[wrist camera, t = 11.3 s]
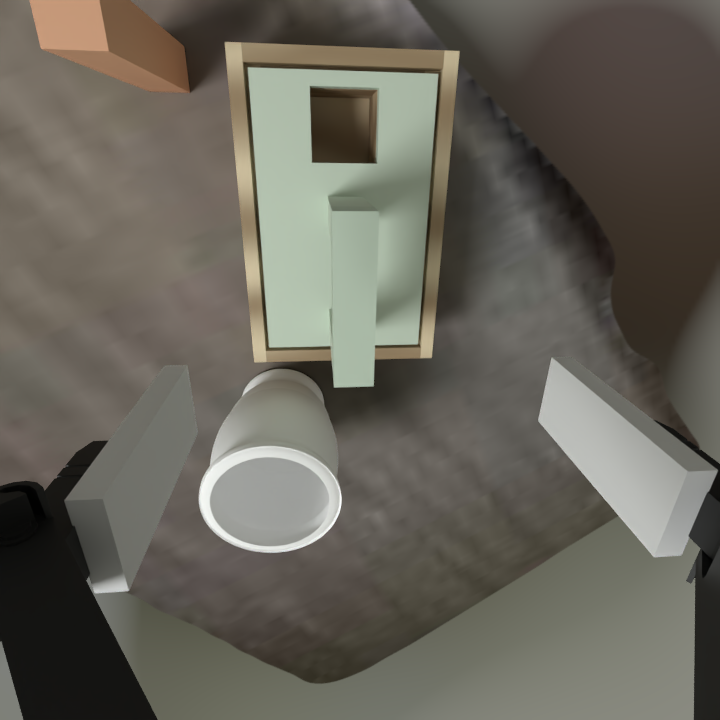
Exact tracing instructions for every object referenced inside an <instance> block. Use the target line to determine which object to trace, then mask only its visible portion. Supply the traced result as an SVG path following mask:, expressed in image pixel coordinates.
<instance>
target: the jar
mask: <svg viewBox="0 0 720 720" xmlns="http://www.w3.org/2000/svg"><path fill="white" fill-rule="evenodd" d="M337 471H338V447H337V441H336V436H335V432H334V429H333V426H332V424H331V421H330V418H329V415H328V413H327V410H326V408H325V406H324V398H323V395H322V392H321V390H320V388H319V387H318V385H317V384H316V383H315V382H314V381H313V380H312V379H311V378H309V377H308V376H306V375H305V374H303V373H300V372H298V371H295V370H290V369H273V370H269V371H266V372H263V373H261V374H259V375H258V376H256V377H255V378H253V379H252V380H251V381H250V382H249V383H248V385H247V386H246V388H245V390H244V392H243V395H242V397H241V398H240V399H239V401H238V402H237V403H236V405H235V406H234V408H233V409H232V411H231V412H230V413H229V415H228V416H227V418H226V419H225V421H224V422H223V424H222V426H221V428H220V430H219V432H218V434H217V437H216V440H215V443H214V446H213V450H212V455H211V462H210V467H209V468H208V469H207V471H206V473H205V475H204V477H203V479H202V482H201V485H200V491H199V507H200V511H201V514H202V516H203V518H204V520H205V522H206V523H207V525H208V526H209V527H210V528H211V529H212V530H213V531H214V532H215V533H216V534H217V535H218V536H219V537H221V538H222V539H224V540H225V541H227V542H229V543H231V544H233V545H235V546H237V547H240V548H243V549H246V550H250V551H256V552H265V553H277V552H286V551H291V550H295V549H298V548H301V547H304V546H306V545H309V544H311V543H313V542H314V541H316V540H318V539H319V538H320V537H322V536H323V535H324V534H325V533H326V532H327V531H328V530H329V529H330V528H331V527H332V526H333V524H334V523H335V521H336V519H337V517H338V515H339V512H340V509H341V491H340V485H339V482H338V479H337Z"/></svg>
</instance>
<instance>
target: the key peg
mask: <svg viewBox="0 0 720 720" xmlns="http://www.w3.org/2000/svg"><path fill="white" fill-rule="evenodd" d="M30 4H31V8H32V12H33V17H34V21H35V25H36V29H37V33H38V38H39V42H40V46H41V49H43V50H45V51H48V52H50V53H53V54H56V55H58V56H61V57H63V58H66V59H68V60H71V61H73V62H76V63H78V64H81V65H83V66H86V67H89V68H91V69H94V70H96V71H99V72H101V73H104V74H106V75H109V76H111V77H114V78H116V79H119V80H122V81H124V82H127V83H129V84H132V85H134V86H137V87H139V88H142V89H144V90H147V91H149V92H177V93H190V88H189V80H188V72H187V64H186V56H185V48H184V46H183V45H182V44H181V43H180V42H179V41H177V40H176V39H175V38H174V37H173V36H171V35H170V34H169V33H168V32H167V31H166V30H164V29H163V28H162V27H161V26H160V25H158V24H157V23H156V22H155V21H154V20H153V19H151V18H150V17H149V16H148V15H147V14H145V13H144V12H143V11H142V10H141V9H140V8H138V7H137V6H136V5H135V4H134V3H132V2H131V1H130V0H30Z"/></svg>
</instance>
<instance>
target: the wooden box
mask: <svg viewBox="0 0 720 720" xmlns="http://www.w3.org/2000/svg"><path fill="white" fill-rule="evenodd" d="M225 52H226V63H227V73H228V84H229V95H230V106H231V116H232V127H233V138H234V149H235V159H236V170H237V181H238V192H239V202H240V213H241V224H242V235H243V245H244V256H245V267H246V278H247V288H248V299H249V310H250V321H251V331H252V342H253V353H254V362H288V361H329V360H332V358H331V346H318V347H272V348H269V339H268V326H267V313H266V300H265V287H264V273H263V260H262V247H261V234H260V221H259V208H258V195H257V182H256V169H255V156H254V143H253V130H252V117H251V104H250V90H249V77H248V67H253V68H282V69H312V70H341V71H370V72H399V73H428V74H438V85H437V98H436V111H435V125H434V138H433V151H432V164H431V178H430V191H429V204H428V217H427V231H426V244H425V257H424V270H423V284H422V297H421V310H420V323H419V337H418V344H409V345H375V359H409V358H432V350H433V339H434V328H435V317H436V306H437V294H438V283H439V272H440V261H441V250H442V239H443V228H444V217H445V206H446V195H447V184H448V173H449V162H450V151H451V140H452V129H453V118H454V107H455V96H456V85H457V74H458V63H459V51H445V50H420V49H394V48H369V47H343V46H318V45H292V44H267V43H241V42H225ZM377 93H378V90H364V89H331V88H310V110H311V146H312V163H373V164H376V129H377Z"/></svg>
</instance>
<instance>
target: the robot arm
mask: <svg viewBox="0 0 720 720" xmlns="http://www.w3.org/2000/svg"><path fill="white" fill-rule="evenodd" d="M538 421H539V422H540V423H541V425H542V426H543V427H544V428H545V429H546V431H547V432H548V433H549V434H550V435H551V436H552V438H553V439H554V440H555V441H556V442H557V444H558V445H559V446H560V447H561V448H562V449H563V451H564V452H565V453H566V454H567V455H568V456H569V458H570V459H571V460H572V461H573V462H574V464H575V465H576V466H577V467H578V468H579V469H580V471H581V472H582V473H583V474H584V475H585V476H586V478H587V479H588V480H589V481H590V482H591V484H592V485H593V486H594V487H595V488H596V489H597V491H598V492H599V493H600V494H601V495H602V497H603V498H604V499H605V500H606V501H607V502H608V504H609V505H610V506H611V507H612V508H613V509H614V511H615V512H616V513H617V514H618V515H619V517H620V518H621V519H622V520H623V521H624V522H625V524H626V525H627V526H628V527H629V528H630V529H631V531H632V532H633V533H634V534H635V535H636V537H638V539H639V540H640V541H641V542H642V543H643V545H644V546H645V547H646V548H647V549H648V551H649V552H650V553H651V554H652V555H653V557H664V556H680V555H682V553H683V551H684V548H685V546H686V544H687V541H688V539H689V537H690V538H691V539H692V540H693V541H694V542H695V543H696V544H697V545H698V546H699V547H700V548H701V549H700V551H699V554H698V556H697V558H696V560H695V562H694V565H693V567H692V569H691V571H690V574H689V576H688V578H687V580H686V581H687V582H689V583H692V581H693V579H694V578H696V579H695V669H694V670H695V671H694V673H695V674H694V676H695V677H694V720H720V464H719V463H718V462H716V461H715V460H714V459H713V458H711V457H710V456H708V455H707V454H706V453H705V452H703V451H702V450H699V449H698V447H697V446H695V445H694V444H693V443H691V442H690V441H687V439H686V438H685V437H683V436H682V435H681V434H679V433H678V432H677V431H676V430H674V429H673V428H670V427H668V426H666V425H664V424H662V423H660V422H658V421H656V420H653V419H651V418H650V417H649V416H647V415H646V414H645V413H643V412H642V411H641V410H640V409H638V408H637V407H636V406H634V405H633V404H632V403H631V402H629V401H628V400H627V399H625V398H624V397H623V396H621V395H620V394H619V393H618V392H616V391H615V390H614V389H612V388H611V387H610V386H609V385H607V384H606V383H605V382H603V381H602V380H601V379H599V378H598V377H597V376H596V375H594V374H593V373H592V372H590V371H589V370H588V369H587V368H585V367H584V366H583V365H581V364H580V363H579V362H577V361H576V360H575V359H574V358H572V357H552V358H551V363H550V368H549V372H548V377H547V382H546V387H545V391H544V396H543V401H542V405H541V410H540V415H539V419H538ZM197 434H198V429H197V423H196V417H195V410H194V404H193V398H192V391H191V385H190V379H189V373H188V366H187V365H172V366H164V367H163V368H162V370H161V371H160V372H159V374H158V375H157V376H156V378H155V379H154V380H153V382H152V383H151V384H150V386H149V387H148V388H147V390H146V391H145V392H144V394H143V395H142V396H141V398H140V399H139V401H138V402H137V403H136V405H135V406H134V407H133V409H132V410H131V411H130V413H129V414H128V415H127V417H126V418H125V419H124V421H123V422H122V423H121V425H120V426H119V427H118V429H117V430H116V432H115V433H114V434H113V436H112V437H111V438H110V440H109V441H93V442H91V443H90V444H88V445H87V446H85V447H84V448H82V449H81V450H79V451H78V452H76V453H75V455H74V456H73V457H72V458H71V460H70V461H69V462H68V463H67V464H66V468H63V469H62V471H61V472H60V473H59V474H58V475H57V479H54V480H53V481H52V483H51V484H50V485H49V486H48V488H47V489H46V490H45V491H44V489H43V487H42V486H41V485H40V484H38V483H36V482H30V481H22V482H13V483H9V484H6V485H3V486H0V641H2V644H3V648H4V651H5V655H6V659H7V662H8V666H9V669H10V673H11V677H12V680H13V684H14V687H15V691H16V695H17V698H18V702H19V705H20V709H21V712H22V716H23V720H157V718H156V716H155V714H154V712H153V710H152V708H151V706H150V704H149V702H148V700H147V698H146V696H145V694H144V692H143V691H142V688H141V687H140V685H139V683H138V681H137V679H136V677H135V675H134V673H133V671H132V669H131V667H130V665H129V663H128V661H127V659H126V657H125V655H124V653H123V652H122V650H121V648H120V646H119V644H118V642H117V640H116V638H115V636H114V634H113V632H112V630H111V628H110V626H109V624H108V623H107V620H106V619H105V617H104V615H103V613H102V611H101V609H100V607H99V605H98V603H97V601H96V599H95V597H94V595H93V593H92V591H91V589H90V587H89V585H88V583H87V582H86V580H87V578H88V577H90V580H91V583H92V586H93V589H94V593H106V592H121V591H129V590H130V587H131V585H132V583H133V581H134V578H135V576H136V574H137V571H138V569H139V567H140V565H141V562H142V560H143V558H144V555H145V553H146V551H147V548H148V546H149V544H150V542H151V539H152V537H153V535H154V532H155V530H156V528H157V526H158V523H159V521H160V519H161V516H162V514H163V512H164V510H165V507H166V505H167V503H168V500H169V498H170V496H171V493H172V491H173V489H174V487H175V484H176V482H177V480H178V477H179V475H180V473H181V471H182V468H183V466H184V464H185V461H186V459H187V457H188V454H189V452H190V450H191V448H192V445H193V443H194V441H195V438H196V436H197Z"/></svg>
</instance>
